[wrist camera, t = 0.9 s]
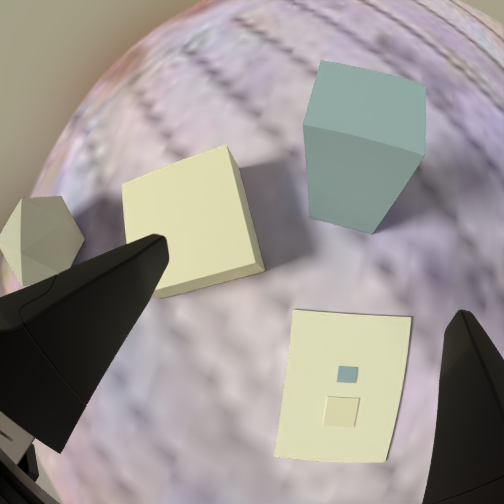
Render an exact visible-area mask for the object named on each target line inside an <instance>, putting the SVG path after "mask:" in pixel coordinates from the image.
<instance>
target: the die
mask: <svg viewBox="0 0 504 504" xmlns="http://www.w3.org/2000/svg"><path fill="white" fill-rule="evenodd" d="M84 240H85V238H84V236H83V235H82V233H81V231H80V229H79V228H78V226H77V224H76V222H75V221H74V219H73V217H72V215H71V213H70V211H69V210H68V208H67V206H66V204H65V202H64V200H63V198H62V196H54V197H37V198H22V199H21V200H20V202H19V204H18V205H17V207H16V208H15V210H14V212H13V213H12V215H11V217H10V218H9V220H8V222H7V224H6V225H5V227H4V229H3V231H2V232H1V234H0V249H1V251H2V252H3V254H4V256H5V258H6V260H7V261H8V263H9V265H10V266H11V268H12V270H13V272H14V273H15V275H16V277H17V278H18V280H19V281H20V283H21V285H22V286H23V287H24V286H28V285H32V284H35V283H38V282H40V281H42V280H44V279H47V278H49V277H51V276H53V275H55V274H58V273H60V272H62V271H65V270H67V269H69V268H70V266H71V265H72V263H73V261H74V259H75V257H76V255H77V253H78V251H79V249H80V248H81V246H82V244H83V242H84Z"/></svg>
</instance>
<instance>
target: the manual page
mask: <svg viewBox="0 0 504 504" xmlns="http://www.w3.org/2000/svg"><path fill="white" fill-rule="evenodd" d="M410 326H411V317H396V316H376V315H358V314H343V313H329V312H316V311H304V310H293V316H292V326H291V335H290V343H289V352H288V360H287V368H286V376H285V384H284V391H283V399H282V406H281V413H280V420H279V426H278V433H277V439H276V446H275V452H274V456H275V457H282V458H291V459H301V460H312V461H328V462H385V460H386V456H387V453H388V449H389V445H390V441H391V438H392V433H393V429H394V425H395V421H396V416H397V411H398V407H399V402H400V396H401V391H402V385H403V380H404V373H405V367H406V360H407V353H408V345H409V336H410Z"/></svg>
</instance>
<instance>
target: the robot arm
mask: <svg viewBox="0 0 504 504" xmlns="http://www.w3.org/2000/svg"><path fill="white" fill-rule="evenodd" d="M168 263H169V250H168V244H167V239H166V237H165V236H163V235H159V234H151V235H148V236H146V237H143V238H140V239H138V240H135V241H133V242H131V243H128V244H126V245H123V246H121V247H118V248H116V249H113V250H111V251H109V252H106V253H104V254H101V255H99V256H97V257H94V258H92V259H90V260H87V261H85V262H83V263H80V264H78V265H76V266H74V267H71V268H69V269H67V270H65V271H62V272H60V273H58V274H55V275H53V276H51V277H49V278H47V279H44V280H42V281H40V282H38V283H35V284H33V285H30V286H28V287H25V288H23V289H20V290H18V291H15V292H13V293H10V294H8V295H5V296H2V297H0V504H60V503H58V502H57V501H56V500H55V499H53V498H52V497H51V496H50V495H49V494H47V493H46V492H45V491H44V490H43V489H41V488H40V487H39V486H38V485H37V484H36V483H35V481H36V480H37V478H38V477H39V472H38V467H37V461H36V455H35V448H34V445H33V444H32V442H33V441H34V439H35V438H36V439H38V440H39V441H41V442H42V443H44V444H45V445H47V446H48V447H50V448H51V449H53V450H54V451H56V452H58V453H59V454H60V453H61V452H62V450H63V449H64V447H65V445H66V443H67V441H68V439H69V437H70V435H71V433H72V431H73V430H74V428H75V426H76V424H77V422H78V420H79V419H80V417H81V415H82V413H83V411H84V409H85V408H86V406H87V405H86V404H88V402H89V400H90V398H91V397H92V395H93V393H94V391H95V390H96V388H97V386H98V384H99V383H100V381H101V379H102V377H103V376H104V374H105V372H106V371H107V369H108V367H109V366H110V364H111V362H112V360H113V359H114V357H115V355H116V354H117V352H118V351H119V349H120V347H121V346H122V344H123V342H124V341H125V339H126V337H127V336H128V334H129V333H130V331H131V329H132V328H133V326H134V325H135V323H136V321H137V320H138V318H139V317H140V315H141V313H142V312H143V310H144V309H145V307H146V306H147V304H148V302H149V300H150V299H151V297H152V295H153V293H154V291H155V289H156V287H157V285H158V283H159V281H160V279H161V277H162V275H163V273H164V271H165V269H166V267H167V266H168ZM422 504H504V359H503V358H502V356H501V355H500V353H499V352H498V350H497V348H496V347H495V345H494V344H493V342H492V341H491V339H490V338H489V336H488V335H487V333H486V332H485V331H484V329H483V328H482V326H481V325H480V323H479V322H478V321H477V319H476V318H475V316H474V315H473V314H472V313H471V312H470V311H466V310H458V311H457V313H456V314H455V316H454V317H453V319H452V320H451V322H450V323H449V325H448V326H447V328H446V330H445V334H444V344H443V354H442V363H441V371H440V379H439V395H438V409H437V420H436V430H435V438H434V445H433V452H432V458H431V464H430V470H429V475H428V480H427V485H426V490H425V494H424V498H423V503H422Z"/></svg>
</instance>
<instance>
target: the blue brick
mask: <svg viewBox="0 0 504 504" xmlns="http://www.w3.org/2000/svg"><path fill="white" fill-rule="evenodd" d="M303 132H304V144H305V156H306V169H307V183H308V199H309V218H312V219H316V220H320V221H324V222H328V223H332V224H336V225H340V226H343V227H347V228H351V229H354V230H358V231H362V232H365V233H369V234H372V233H373V232H374V231H375V229H376V228H377V226H378V225H379V223H380V222H381V221H382V219H383V218H384V216H385V215H386V213H387V212H388V211H389V209H390V208H391V206H392V205H393V203H394V202H395V200H396V199H397V197H398V196H399V194H400V193H401V191H402V190H403V188H404V187H405V185H406V184H407V182H408V181H409V179H410V178H411V176H412V175H413V173H414V172H415V170H416V168H417V167H418V165H419V164H420V162H421V160H422V159H423V157H424V155H425V135H426V85H422V84H419V83H416V82H413V81H410V80H406V79H403V78H399V77H396V76H392V75H389V74H385V73H381V72H377V71H373V70H368V69H364V68H360V67H355V66H350V65H345V64H340V63H334V62H328V61H322V60H321V62H320V65H319V69H318V73H317V76H316V80H315V83H314V87H313V90H312V94H311V98H310V101H309V105H308V108H307V112H306V115H305V119H304V122H303Z"/></svg>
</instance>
